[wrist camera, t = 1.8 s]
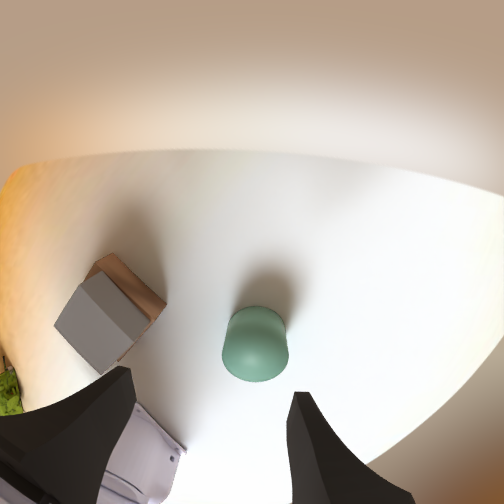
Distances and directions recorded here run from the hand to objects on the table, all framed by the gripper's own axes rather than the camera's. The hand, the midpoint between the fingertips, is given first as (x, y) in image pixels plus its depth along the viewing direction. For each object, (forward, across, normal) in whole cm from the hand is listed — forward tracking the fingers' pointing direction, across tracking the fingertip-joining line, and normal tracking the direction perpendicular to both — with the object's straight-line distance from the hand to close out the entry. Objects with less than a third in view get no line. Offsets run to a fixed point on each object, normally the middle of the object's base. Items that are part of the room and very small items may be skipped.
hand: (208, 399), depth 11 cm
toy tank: (+10, +31, +19) cm, 38 cm away
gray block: (+8, +9, +1) cm, 12 cm away
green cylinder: (+10, -2, +2) cm, 11 cm away
